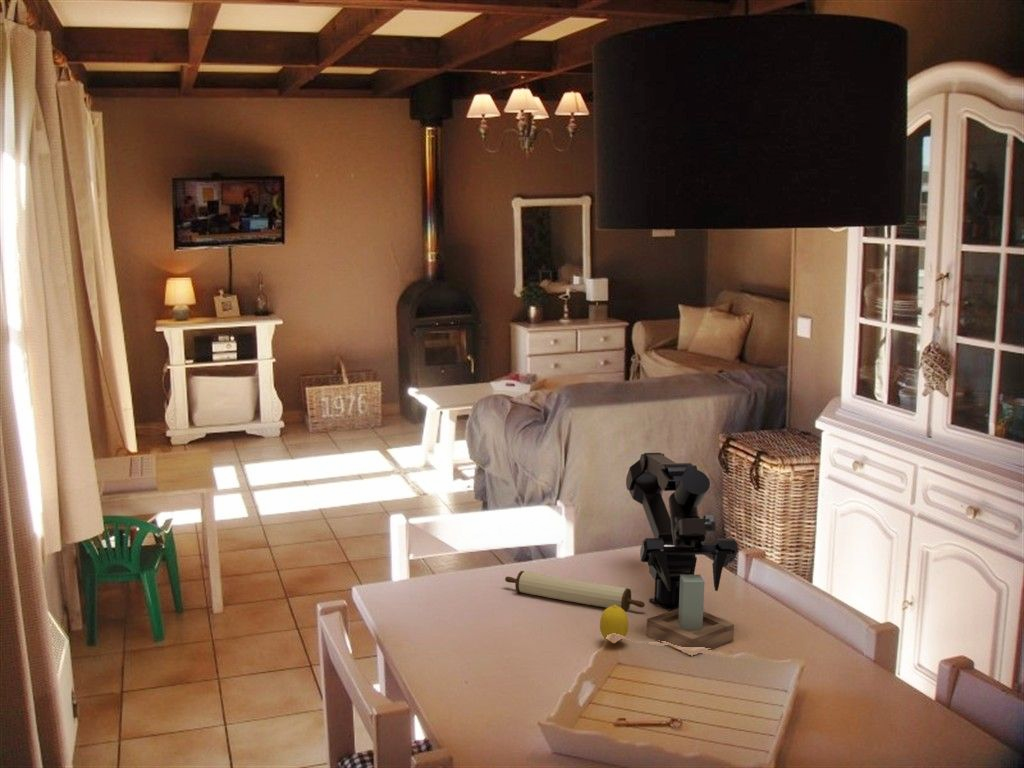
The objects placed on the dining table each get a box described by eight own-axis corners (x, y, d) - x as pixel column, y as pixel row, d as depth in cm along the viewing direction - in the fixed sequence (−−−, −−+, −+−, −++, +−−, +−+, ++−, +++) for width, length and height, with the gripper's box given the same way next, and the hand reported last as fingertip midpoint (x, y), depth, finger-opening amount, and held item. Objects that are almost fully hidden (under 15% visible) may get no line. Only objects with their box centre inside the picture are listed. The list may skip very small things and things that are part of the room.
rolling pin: (499, 593, 228) (500, 572, 227) (510, 585, 233) (510, 564, 232) (640, 619, 215) (640, 596, 214) (648, 610, 220) (649, 587, 219)
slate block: (678, 622, 207) (680, 574, 205) (698, 622, 207) (700, 574, 205) (681, 630, 203) (683, 581, 201) (702, 630, 203) (704, 581, 201)
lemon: (626, 651, 199) (627, 611, 198) (597, 648, 200) (598, 609, 199) (629, 639, 204) (630, 601, 203) (601, 636, 205) (602, 598, 204)
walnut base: (646, 635, 206) (647, 618, 206) (688, 621, 214) (688, 605, 213) (691, 656, 197) (692, 639, 196) (733, 640, 204) (734, 624, 204)
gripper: (644, 499, 204) (651, 572, 195) (738, 499, 205) (749, 572, 196) (637, 525, 213) (643, 596, 204) (727, 525, 214) (737, 596, 205)
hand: (693, 590), depth 202 cm, fingers open, 9 cm apart
